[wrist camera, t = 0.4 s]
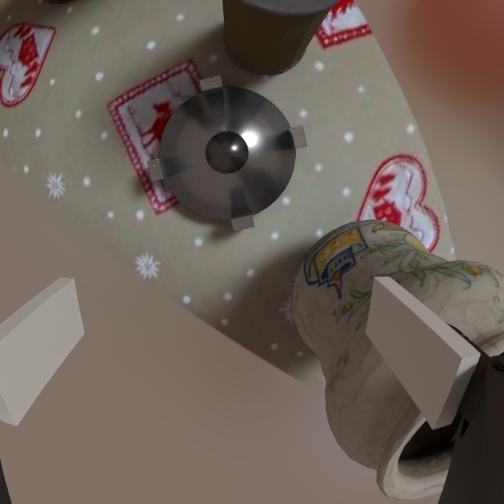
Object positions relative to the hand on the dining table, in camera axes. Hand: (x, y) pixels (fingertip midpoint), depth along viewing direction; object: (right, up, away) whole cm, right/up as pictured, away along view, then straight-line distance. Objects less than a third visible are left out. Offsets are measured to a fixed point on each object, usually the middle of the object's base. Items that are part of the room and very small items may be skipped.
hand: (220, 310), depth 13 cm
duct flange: (-2, +14, +24) cm, 28 cm away
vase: (+14, -1, +29) cm, 33 cm away
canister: (+3, +29, +21) cm, 36 cm away
